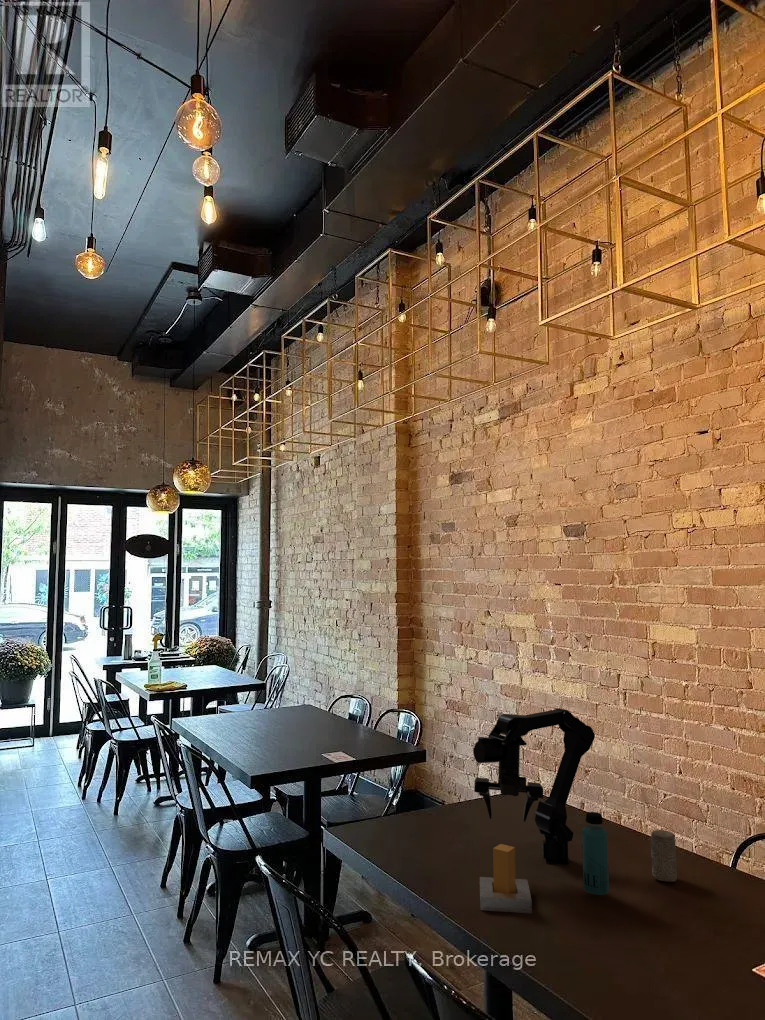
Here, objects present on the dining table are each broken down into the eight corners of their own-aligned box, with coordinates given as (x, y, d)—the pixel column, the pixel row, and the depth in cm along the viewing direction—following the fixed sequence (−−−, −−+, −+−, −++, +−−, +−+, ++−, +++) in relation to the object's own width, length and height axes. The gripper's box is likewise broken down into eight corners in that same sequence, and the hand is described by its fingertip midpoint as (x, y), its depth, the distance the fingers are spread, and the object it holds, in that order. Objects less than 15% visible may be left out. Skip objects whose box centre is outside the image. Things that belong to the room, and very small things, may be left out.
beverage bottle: (610, 892, 177) (607, 810, 180) (609, 903, 171) (607, 818, 173) (583, 889, 179) (581, 807, 182) (582, 899, 173) (580, 815, 175)
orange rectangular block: (501, 896, 175) (500, 843, 176) (515, 900, 172) (515, 847, 174) (493, 901, 172) (493, 848, 173) (508, 906, 169) (507, 852, 171)
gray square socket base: (527, 892, 177) (527, 879, 178) (531, 913, 165) (531, 900, 166) (479, 889, 179) (479, 876, 179) (480, 910, 167) (480, 896, 167)
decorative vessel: (678, 876, 188) (676, 830, 189) (677, 887, 181) (675, 838, 182) (653, 872, 190) (651, 826, 192) (651, 882, 183) (649, 835, 185)
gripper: (475, 764, 189) (473, 825, 186) (546, 770, 186) (544, 832, 184) (475, 756, 200) (473, 813, 197) (541, 762, 197) (540, 820, 195)
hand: (507, 820), depth 193 cm, fingers open, 9 cm apart
